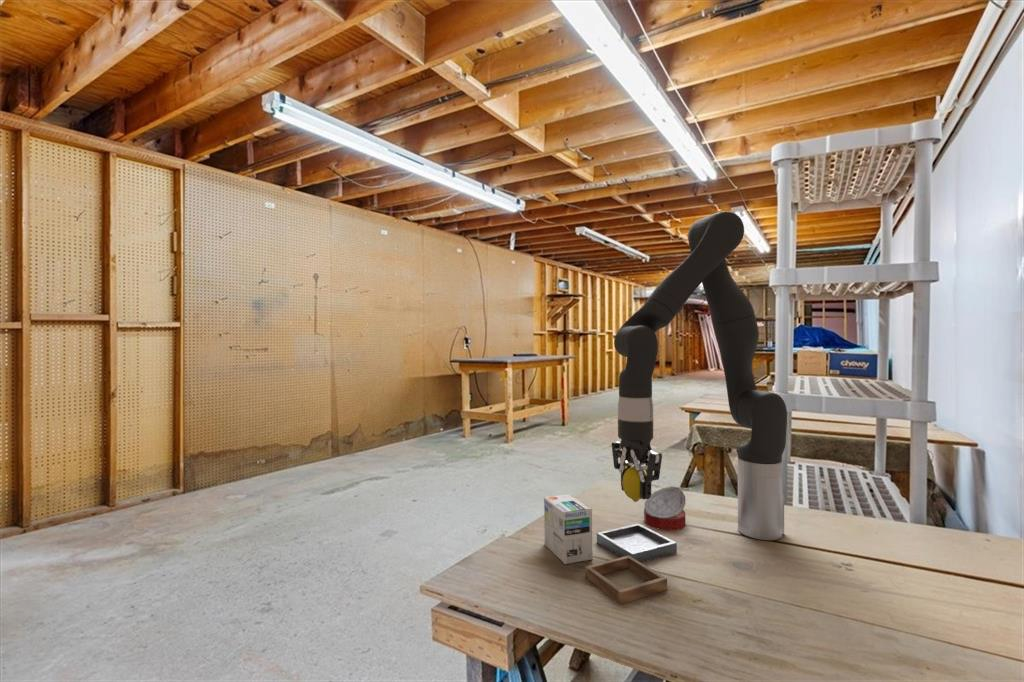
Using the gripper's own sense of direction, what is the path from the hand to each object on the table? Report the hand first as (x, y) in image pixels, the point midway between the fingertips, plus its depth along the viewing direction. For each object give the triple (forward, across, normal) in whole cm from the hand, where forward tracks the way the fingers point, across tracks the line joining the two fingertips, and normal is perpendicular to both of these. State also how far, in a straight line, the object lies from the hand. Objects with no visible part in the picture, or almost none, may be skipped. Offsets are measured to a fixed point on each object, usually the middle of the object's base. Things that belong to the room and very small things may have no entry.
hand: (635, 494), depth 105 cm
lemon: (+2, 0, 0) cm, 2 cm away
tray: (+12, 0, 0) cm, 12 cm away
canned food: (+12, +8, -16) cm, 22 cm away
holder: (+12, -11, +12) cm, 20 cm away
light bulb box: (+12, +5, +14) cm, 19 cm away
